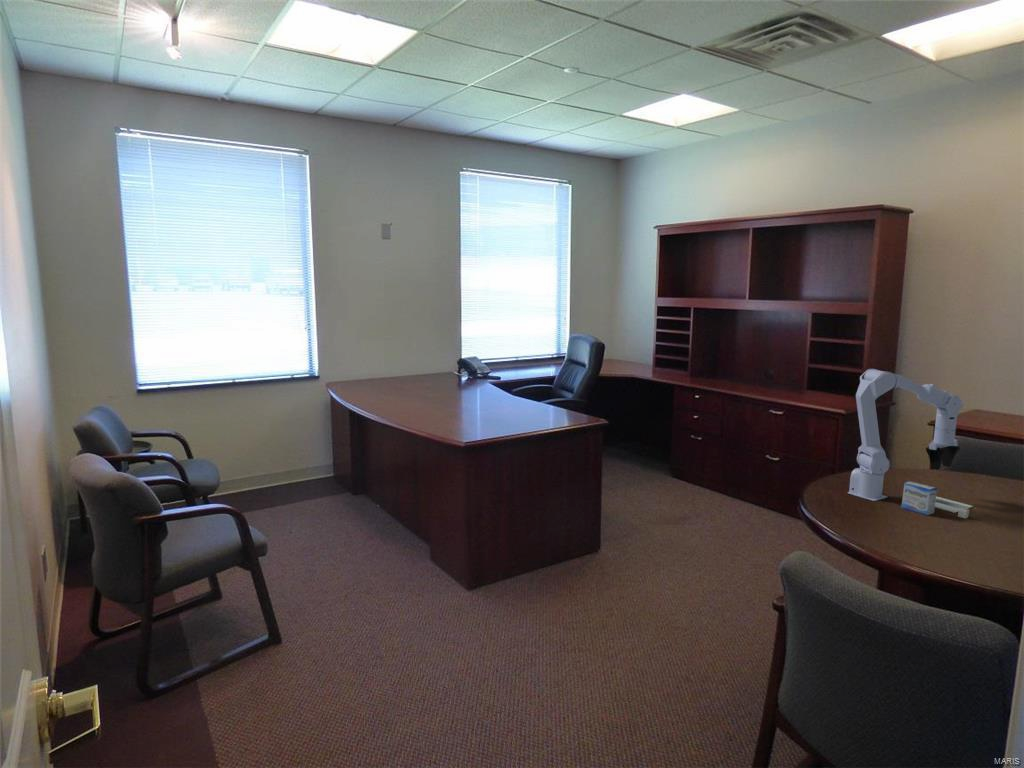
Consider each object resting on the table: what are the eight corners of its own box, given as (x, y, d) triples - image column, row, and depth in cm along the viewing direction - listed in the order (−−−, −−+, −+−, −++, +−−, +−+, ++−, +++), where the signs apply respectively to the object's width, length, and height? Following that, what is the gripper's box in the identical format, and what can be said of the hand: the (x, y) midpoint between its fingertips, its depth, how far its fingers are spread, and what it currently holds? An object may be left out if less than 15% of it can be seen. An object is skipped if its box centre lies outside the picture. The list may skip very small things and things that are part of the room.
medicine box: (900, 508, 196) (903, 482, 195) (908, 505, 199) (910, 480, 197) (927, 515, 190) (930, 489, 188) (934, 513, 192) (937, 487, 191)
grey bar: (905, 494, 203) (905, 491, 203) (907, 493, 203) (907, 490, 203) (966, 510, 187) (967, 507, 187) (968, 510, 188) (968, 506, 188)
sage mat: (908, 500, 204) (908, 499, 204) (926, 494, 210) (926, 493, 210) (954, 513, 192) (954, 512, 192) (972, 506, 198) (972, 505, 198)
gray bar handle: (904, 501, 203) (904, 494, 203) (907, 500, 204) (907, 493, 204) (965, 518, 187) (966, 510, 187) (968, 517, 188) (969, 509, 188)
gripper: (947, 433, 198) (943, 473, 199) (969, 428, 205) (964, 467, 207) (924, 429, 204) (920, 468, 206) (945, 425, 211) (941, 462, 213)
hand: (940, 467), depth 207 cm, fingers open, 7 cm apart
